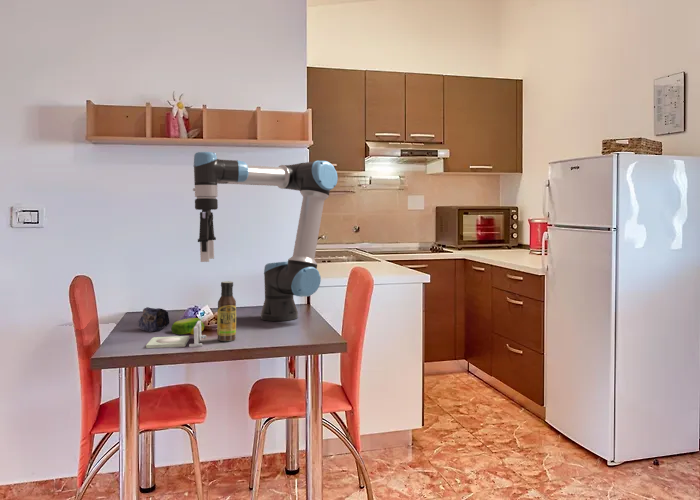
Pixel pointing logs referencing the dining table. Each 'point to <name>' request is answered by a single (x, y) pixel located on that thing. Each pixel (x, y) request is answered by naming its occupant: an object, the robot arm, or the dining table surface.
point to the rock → (153, 319)
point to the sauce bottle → (226, 313)
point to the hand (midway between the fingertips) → (207, 260)
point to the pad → (168, 342)
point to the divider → (197, 335)
